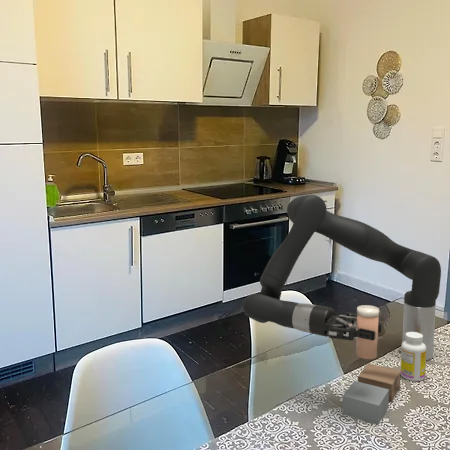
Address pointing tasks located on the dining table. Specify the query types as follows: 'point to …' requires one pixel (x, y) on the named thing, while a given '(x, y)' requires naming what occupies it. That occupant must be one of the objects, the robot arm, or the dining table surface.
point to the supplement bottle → (413, 357)
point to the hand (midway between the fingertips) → (378, 332)
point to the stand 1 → (381, 378)
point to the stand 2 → (365, 402)
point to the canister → (369, 321)
